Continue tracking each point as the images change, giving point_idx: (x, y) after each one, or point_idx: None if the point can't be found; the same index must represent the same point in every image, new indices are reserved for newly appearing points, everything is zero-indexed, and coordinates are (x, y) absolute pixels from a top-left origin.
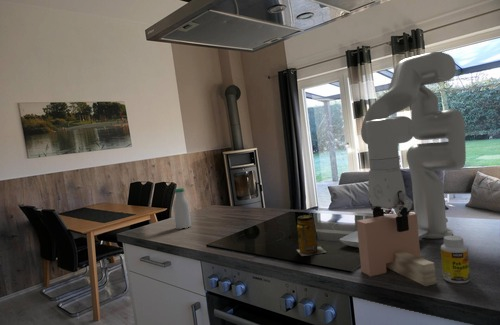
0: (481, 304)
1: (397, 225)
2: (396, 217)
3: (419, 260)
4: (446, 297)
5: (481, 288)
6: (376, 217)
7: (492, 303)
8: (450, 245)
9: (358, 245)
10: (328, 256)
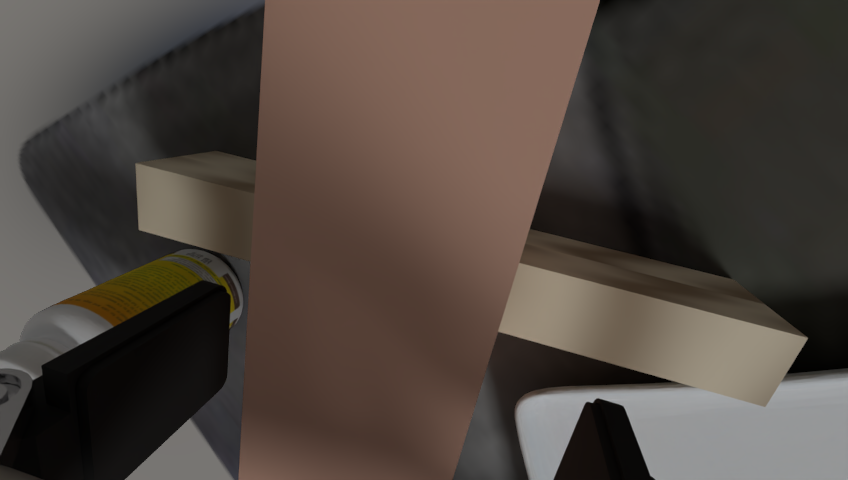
0: (39, 157)
1: (159, 307)
2: (65, 365)
3: (197, 212)
4: (114, 119)
5: (122, 273)
6: (460, 373)
7: (35, 189)
8: (28, 339)
9: (844, 369)
10: None
